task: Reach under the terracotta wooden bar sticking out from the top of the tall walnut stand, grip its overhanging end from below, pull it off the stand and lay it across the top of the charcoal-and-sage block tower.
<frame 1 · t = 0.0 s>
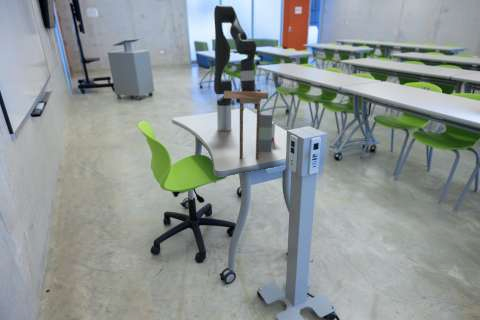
hand: (249, 109, 171), 22 cm above the table, tool pointing down, fingers open, 8 cm apart
walnut stand: (249, 156, 168), on the table
ink box: (266, 141, 190), on the table
terracotta bar: (246, 97, 155), point 32 cm above the table, touching walnut stand
block tower: (263, 149, 177), on the table
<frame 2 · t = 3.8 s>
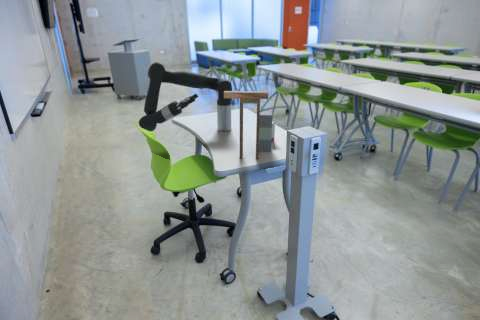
hand: (195, 96, 169), 29 cm above the table, tool pointing upward, fingers open, 8 cm apart
nothing on the table moved.
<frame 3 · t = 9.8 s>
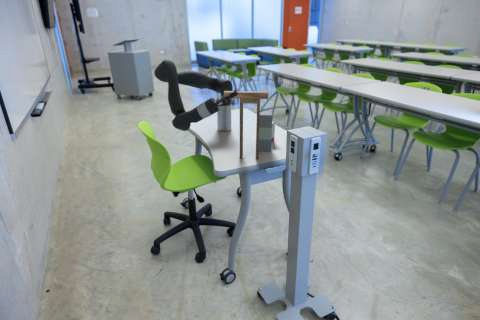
hand: (237, 91, 154), 35 cm above the table, tool pointing upward, fingers closed on terracotta bar, 3 cm apart
terracotta bar: (246, 97, 155), point 32 cm above the table, touching gripper, walnut stand
everything else where it was.
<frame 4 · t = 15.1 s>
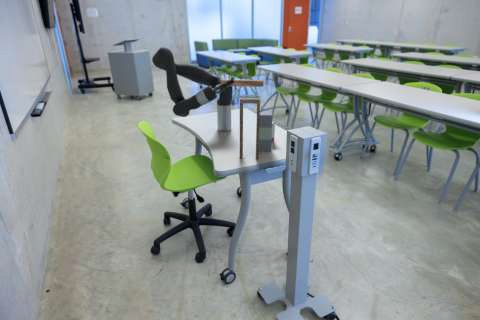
hand: (233, 79, 162), 39 cm above the table, tool pointing upward, fingers closed on terracotta bar, 3 cm apart
terracotta bar: (242, 85, 163), point 36 cm above the table, touching gripper
everything else where it was.
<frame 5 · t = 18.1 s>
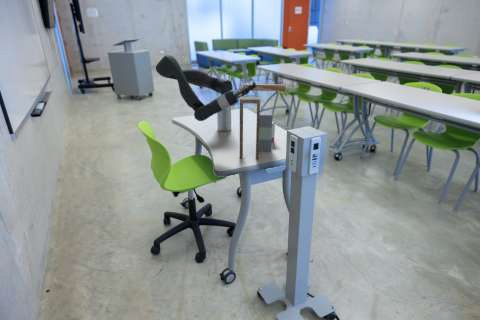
hand: (255, 84, 163), 37 cm above the table, tool pointing upward, fingers closed on terracotta bar, 3 cm apart
terracotta bar: (263, 90, 164), point 34 cm above the table, touching gripper
everything else where it was.
when the fingers open (25 cm above the table, at t = 20.8 s): terracotta bar drops 1 cm, resting on block tower.
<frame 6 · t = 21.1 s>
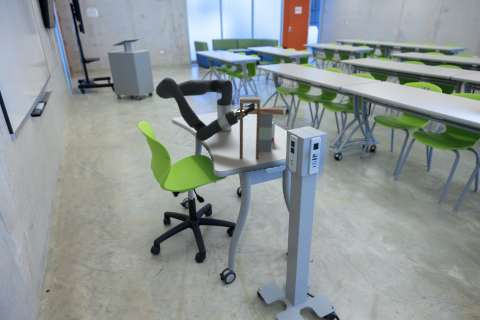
hand: (254, 105, 167), 25 cm above the table, tool pointing upward, fingers open, 6 cm apart
terracotta bar: (262, 113, 169), point 21 cm above the table, touching block tower
everything else where it was.
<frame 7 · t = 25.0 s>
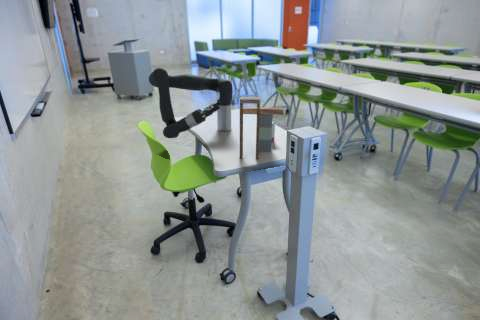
hand: (220, 104, 168), 26 cm above the table, tool pointing upward, fingers open, 8 cm apart
nothing on the table moved.
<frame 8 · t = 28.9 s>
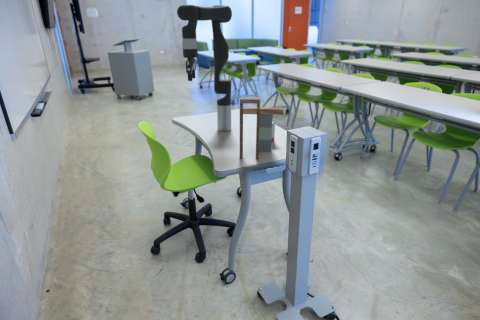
hand: (191, 79, 167), 38 cm above the table, tool pointing down, fingers open, 8 cm apart
nothing on the table moved.
at the end: terracotta bar inside the target area (0.1 cm from its centre), point 21.0 cm above the table; terracotta bar touching block tower; the gripper is holding nothing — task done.
